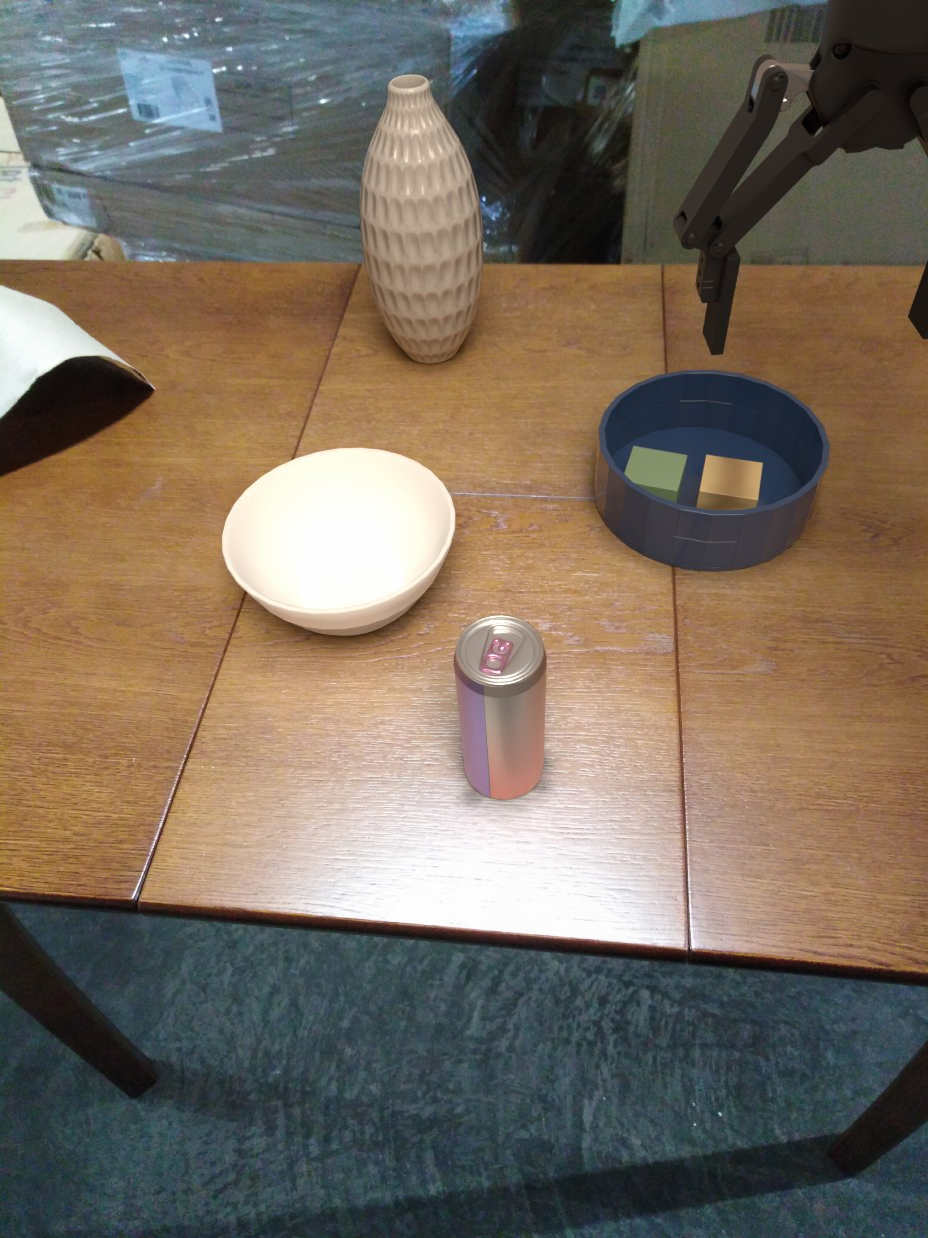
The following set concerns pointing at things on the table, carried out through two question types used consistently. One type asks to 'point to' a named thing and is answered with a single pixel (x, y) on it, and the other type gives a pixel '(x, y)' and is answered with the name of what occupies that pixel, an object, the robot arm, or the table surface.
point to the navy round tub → (698, 426)
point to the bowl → (340, 539)
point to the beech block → (729, 484)
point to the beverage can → (501, 704)
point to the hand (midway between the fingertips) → (816, 335)
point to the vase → (421, 225)
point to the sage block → (657, 471)
